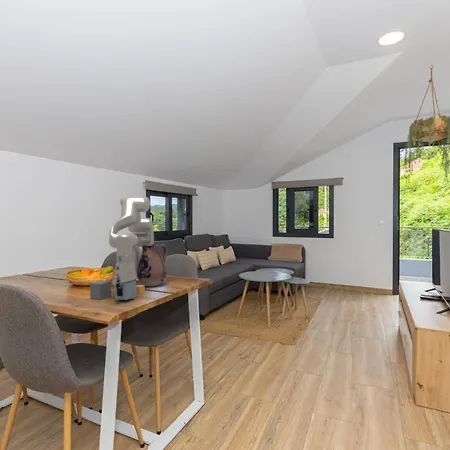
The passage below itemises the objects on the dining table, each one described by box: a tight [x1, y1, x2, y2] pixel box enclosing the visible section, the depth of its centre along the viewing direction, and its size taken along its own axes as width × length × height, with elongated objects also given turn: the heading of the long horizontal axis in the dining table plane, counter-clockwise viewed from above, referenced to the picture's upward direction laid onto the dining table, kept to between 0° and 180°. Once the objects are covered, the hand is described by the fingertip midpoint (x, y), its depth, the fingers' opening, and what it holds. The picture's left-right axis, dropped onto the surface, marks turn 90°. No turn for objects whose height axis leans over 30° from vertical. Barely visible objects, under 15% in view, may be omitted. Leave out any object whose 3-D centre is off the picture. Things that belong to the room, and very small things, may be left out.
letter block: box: [136, 284, 146, 295], centre depth 171 cm, size 4×4×4 cm
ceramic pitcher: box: [137, 243, 168, 287], centre depth 191 cm, size 18×21×25 cm
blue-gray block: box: [114, 281, 137, 301], centre depth 156 cm, size 7×7×8 cm
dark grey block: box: [89, 280, 112, 301], centre depth 162 cm, size 7×7×8 cm
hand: (125, 293), depth 156 cm, fingers closed on blue-gray block, 7 cm apart
